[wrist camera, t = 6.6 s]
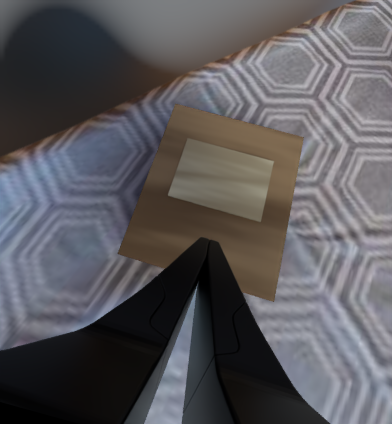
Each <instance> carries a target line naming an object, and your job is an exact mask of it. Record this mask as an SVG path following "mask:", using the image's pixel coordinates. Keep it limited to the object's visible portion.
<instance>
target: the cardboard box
mask: <svg viewBox="0 0 392 424" xmlns="http://www.w3.org/2000/svg"><path fill="white" fill-rule="evenodd" d="M303 138H304V137H300V136H297V135H293V134H289V133H285V132H281V131H278V130H274V129H270V128H266V127H262V126H259V125H255V124H251V123H247V122H243V121H240V120H236V119H232V118H228V117H224V116H221V115H217V114H213V113H209V112H205V111H202V110H198V109H194V108H190V107H186V106H183V105H179V104H175V106H174V109H173V111H172V114H171V117H170V119H169V122H168V124H167V127H166V130H165V132H164V135H163V137H162V140H161V143H160V145H159V148H158V150H157V153H156V155H155V158H154V161H153V163H152V166H151V168H150V171H149V174H148V176H147V179H146V181H145V184H144V187H143V189H142V192H141V194H140V197H139V200H138V202H137V205H136V207H135V210H134V213H133V215H132V218H131V220H130V223H129V226H128V228H127V231H126V233H125V236H124V239H123V241H122V244H121V246H120V249H119V252H118V254H120V255H123V256H126V257H129V258H133V259H136V260H139V261H142V262H146V263H149V264H152V265H155V266H159V267H162V268H166V267H167V266H169V265H170V264H171V263H172V262H173V261H174V260H175V259H176V258H177V257H179V256H180V255H181V254H182V253H183V252H184V251H185V250H186V249H187V248H189V247H190V246H191V245H192V244H193V243H194V242H195V241H196V240H197V239H199V238H200V237H205V238H208V239H209V240H215V241H218V242H219V243H220V246H221V248H222V250H223V252H224V254H225V256H226V259H227V261H228V263H229V265H230V267H231V269H232V272H233V274H234V276H235V278H236V280H237V282H238V285H239V287H240V289H241V291H242V292H243V293H247V294H250V295H253V296H256V297H260V298H263V299H266V300H269V301H273V302H274V299H275V293H276V288H277V282H278V277H279V271H280V266H281V260H282V254H283V249H284V243H285V238H286V232H287V227H288V221H289V216H290V210H291V205H292V199H293V194H294V188H295V183H296V177H297V172H298V166H299V160H300V155H301V149H302V144H303Z"/></svg>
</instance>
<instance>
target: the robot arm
mask: <svg viewBox="0 0 392 424" xmlns="http://www.w3.org/2000/svg"><path fill="white" fill-rule="evenodd" d="M197 284H198V285H197ZM196 287H197V291H196V300H195V309H194V318H193V327H192V336H191V345H190V354H189V363H188V372H187V381H186V390H185V399H184V408H183V417H182V424H330V423H329V422H328V421H327V420H326V419H324V418H323V417H322V416H321V415H320V414H319V413H318V412H316V411H315V410H314V409H313V408H312V407H311V406H310V405H309V404H308V403H307V402H306V401H305V400H304V399H303V398H302V396H301V395H300V394H299V393H298V391H297V390H296V389H295V387H294V386H293V384H292V383H291V381H290V380H289V378H288V376H287V375H286V373H285V371H284V370H283V368H282V366H281V364H280V363H279V361H278V359H277V358H276V356H275V354H274V353H273V351H272V349H271V347H270V346H269V344H268V342H267V341H266V339H265V337H264V335H263V334H262V332H261V330H260V328H259V326H258V325H257V323H256V321H255V319H254V317H253V315H252V313H251V310H250V308H249V306H248V304H247V303H246V300H245V298H244V295H243V293H242V291H241V289H240V287H239V285H238V282H237V280H236V278H235V276H234V274H233V272H232V269H231V267H230V265H229V263H228V261H227V259H226V256H225V254H224V252H223V250H222V248H221V246H220V243H219V242H218V241H215V240H209V239H208V238H205V237H200V238H199V239H197V240H196V241H195V242H194V243H193V244H192V245H191V246H190V247H189V248H187V249H186V250H185V251H184V252H183V253H182V254H181V255H180V256H179V257H177V258H176V259H175V260H174V261H173V262H172V263H171V264H170V265H169V266H167V267H166V268H165V269H164V270H163V271H162V272H161V273H160V274H159V275H158V276H156V277H155V278H154V279H153V280H152V281H151V282H149V283H148V284H147V285H146V286H145V287H143V288H142V289H141V290H140V291H138V292H137V293H136V294H134V295H133V296H131V297H130V298H129V299H127V300H126V301H124V302H123V303H121V304H120V305H118V306H117V307H116V308H114V309H113V310H111V311H110V312H108V313H107V314H105V315H104V316H103V317H101V318H100V319H98V320H97V321H95V322H93V323H92V324H90V325H88V326H86V327H84V328H82V329H79V330H77V331H74V332H70V333H66V334H62V335H59V336H55V337H51V338H47V339H44V340H40V341H36V342H32V343H28V344H25V345H21V346H17V347H13V348H10V349H5V350H1V351H0V424H144V422H145V420H146V417H147V414H148V412H149V409H150V407H151V404H152V402H153V399H154V396H155V394H156V391H157V389H158V386H159V383H160V381H161V378H162V376H163V373H164V370H165V368H166V365H167V363H168V360H169V357H170V355H171V352H172V350H173V347H174V345H175V342H176V339H177V337H178V334H179V332H180V329H181V326H182V324H183V321H184V319H185V316H186V313H187V311H188V308H189V306H190V303H191V300H192V298H193V295H194V293H195V290H196Z"/></svg>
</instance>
